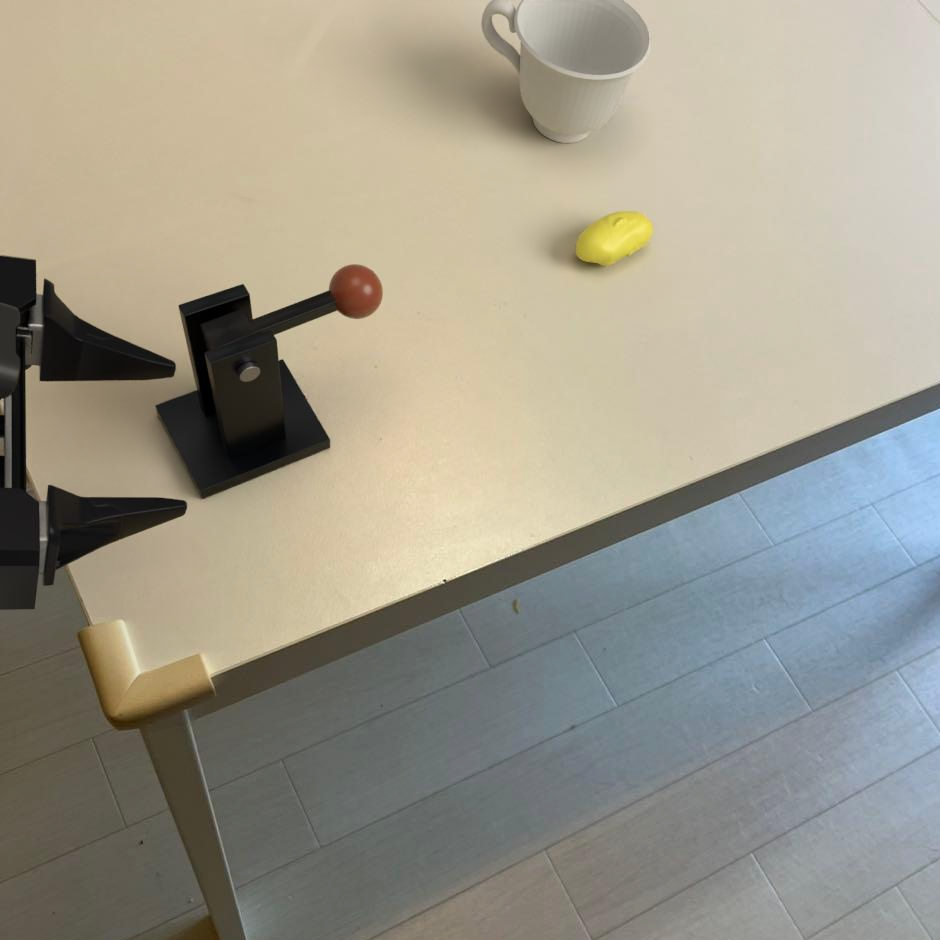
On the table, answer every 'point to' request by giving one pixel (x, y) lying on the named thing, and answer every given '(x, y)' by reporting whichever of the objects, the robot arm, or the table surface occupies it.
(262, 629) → the table surface
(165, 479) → the table surface
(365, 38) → the table surface
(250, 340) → the bracket
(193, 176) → the table surface
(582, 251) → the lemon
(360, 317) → the lever
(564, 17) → the teacup
